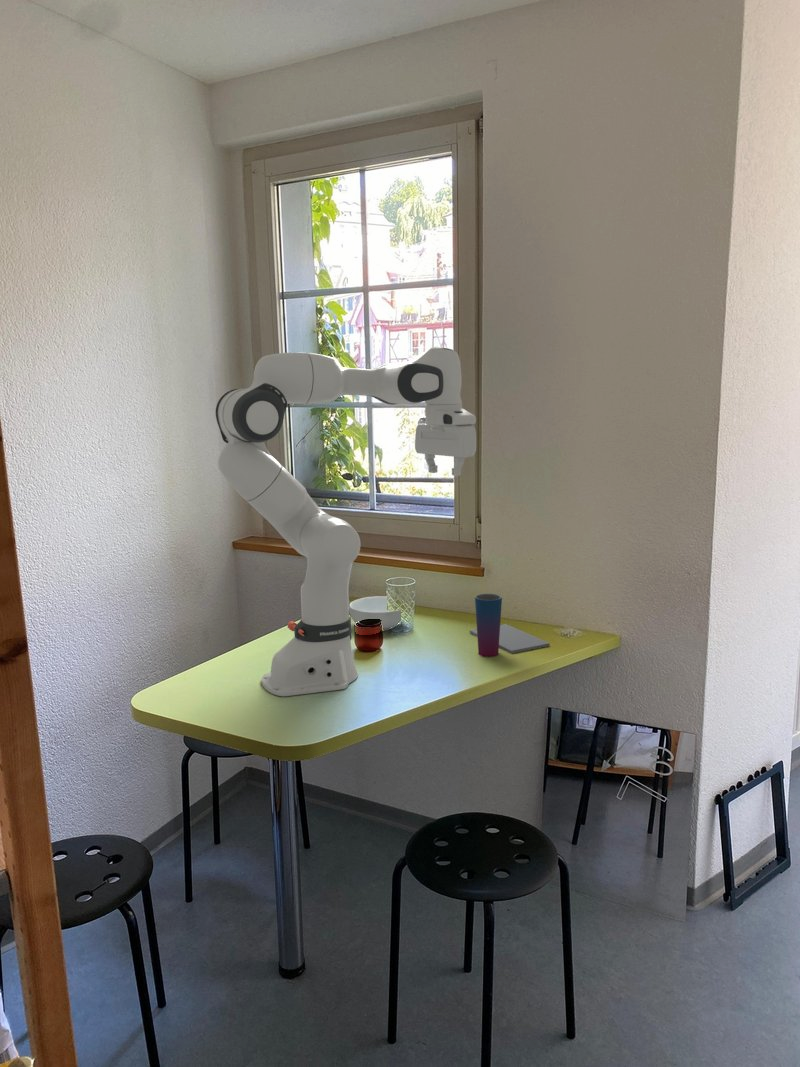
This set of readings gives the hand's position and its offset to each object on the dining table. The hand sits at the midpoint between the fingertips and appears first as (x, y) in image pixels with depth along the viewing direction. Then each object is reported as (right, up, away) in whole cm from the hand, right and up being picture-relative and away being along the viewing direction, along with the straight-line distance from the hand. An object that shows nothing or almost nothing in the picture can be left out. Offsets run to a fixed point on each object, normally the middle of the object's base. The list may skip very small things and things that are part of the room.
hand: (444, 474), depth 194 cm
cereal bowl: (-17, -42, +34) cm, 56 cm away
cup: (+12, -45, +10) cm, 48 cm away
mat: (+18, -43, +21) cm, 51 cm away
